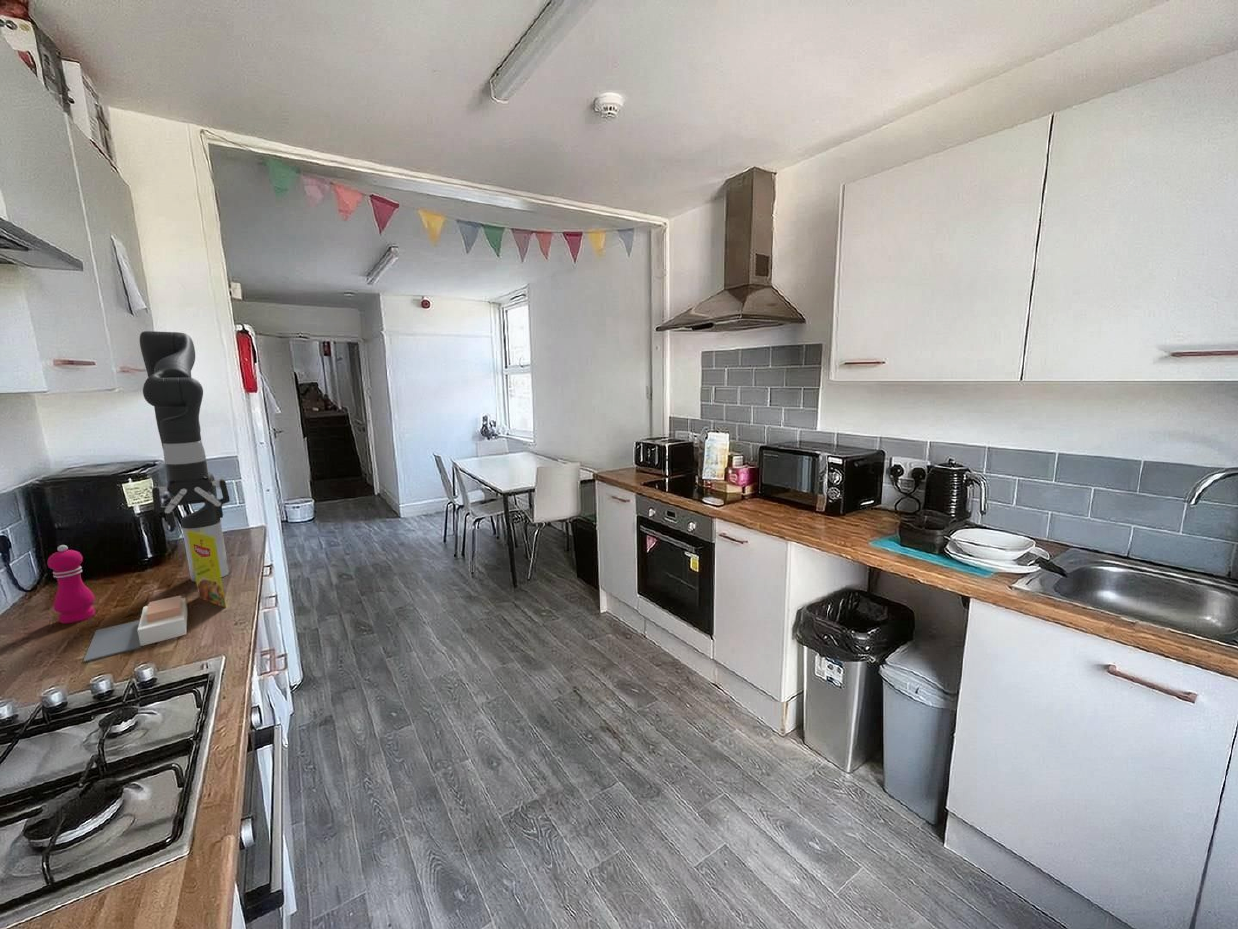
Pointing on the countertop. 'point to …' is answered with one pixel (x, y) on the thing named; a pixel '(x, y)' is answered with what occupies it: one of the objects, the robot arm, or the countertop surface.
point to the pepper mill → (70, 586)
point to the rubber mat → (113, 641)
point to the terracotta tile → (164, 608)
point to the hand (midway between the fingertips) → (196, 523)
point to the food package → (206, 568)
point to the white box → (162, 627)
